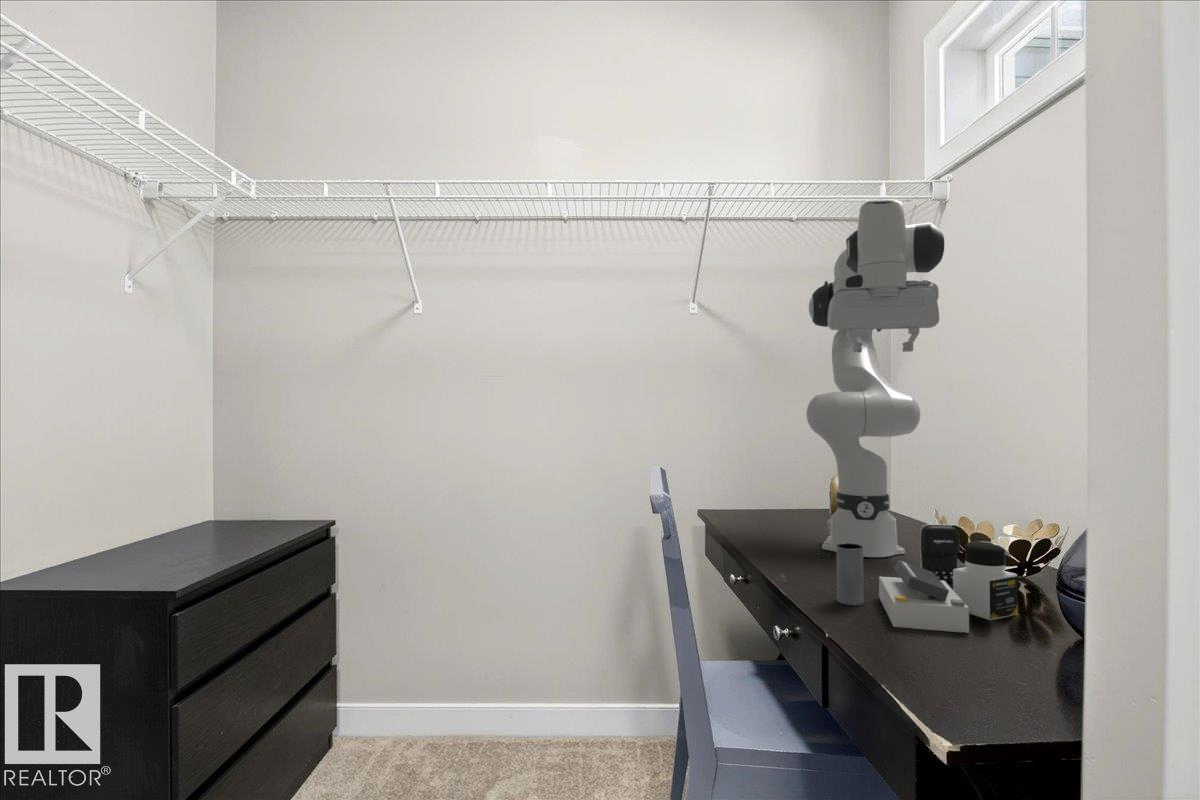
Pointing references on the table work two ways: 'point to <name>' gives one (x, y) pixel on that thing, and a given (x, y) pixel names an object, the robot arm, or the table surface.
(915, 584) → the dark gray slim case
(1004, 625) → the table surface
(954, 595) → the panel
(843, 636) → the table surface
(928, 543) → the battery charger
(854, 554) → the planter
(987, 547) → the medicine bottle
